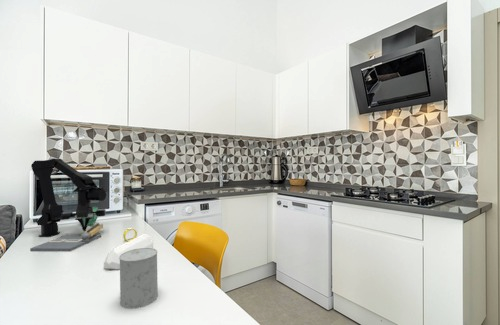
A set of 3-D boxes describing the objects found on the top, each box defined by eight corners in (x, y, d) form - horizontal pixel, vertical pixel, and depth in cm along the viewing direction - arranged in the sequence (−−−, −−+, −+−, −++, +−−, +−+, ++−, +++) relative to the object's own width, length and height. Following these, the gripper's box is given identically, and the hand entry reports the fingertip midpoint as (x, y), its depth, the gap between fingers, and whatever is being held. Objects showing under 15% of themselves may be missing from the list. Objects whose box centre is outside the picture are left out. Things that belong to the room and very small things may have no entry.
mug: (76, 225, 150) (75, 208, 150) (93, 222, 158) (93, 206, 158) (87, 228, 142) (86, 211, 142) (105, 225, 150) (104, 208, 150)
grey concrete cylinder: (162, 288, 74) (161, 247, 74) (150, 308, 64) (150, 260, 64) (129, 290, 73) (129, 248, 73) (113, 309, 64) (112, 261, 64)
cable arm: (95, 228, 133) (95, 222, 133) (102, 228, 134) (102, 222, 134) (80, 239, 114) (80, 232, 114) (88, 238, 115) (88, 232, 115)
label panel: (30, 251, 107) (30, 245, 107) (66, 236, 127) (66, 232, 127) (72, 251, 106) (72, 245, 106) (102, 237, 126) (102, 232, 126)
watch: (125, 243, 117) (124, 230, 117) (123, 241, 119) (121, 229, 119) (138, 239, 122) (137, 227, 121) (135, 237, 123) (134, 226, 123)
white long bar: (123, 261, 85) (159, 239, 109) (106, 250, 86) (146, 230, 110) (113, 279, 86) (152, 253, 109) (97, 268, 87) (139, 245, 110)
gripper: (57, 204, 117) (58, 237, 117) (103, 201, 125) (104, 232, 125) (63, 201, 127) (63, 231, 127) (105, 198, 135) (105, 227, 135)
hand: (84, 230), depth 128 cm, fingers closed
